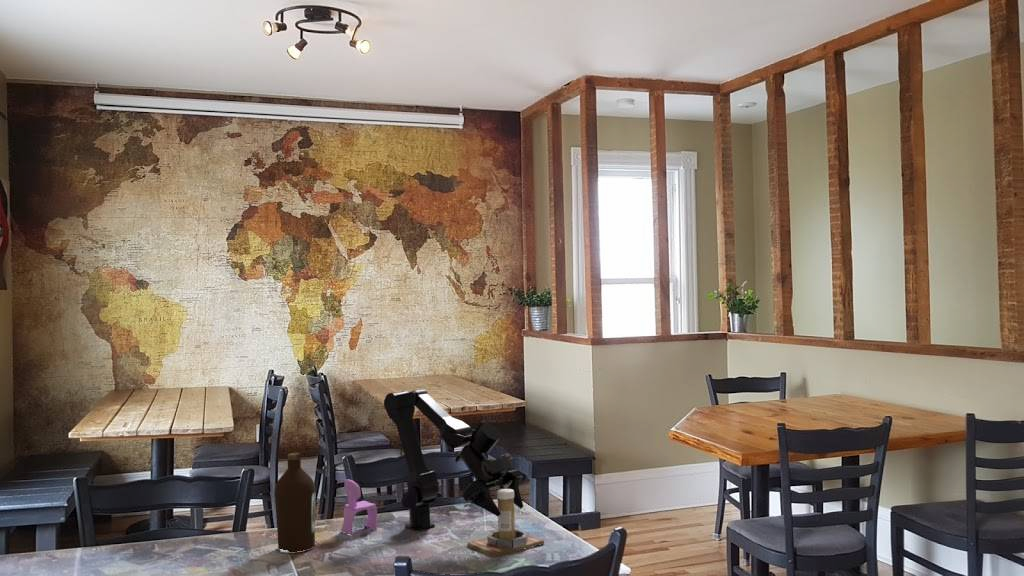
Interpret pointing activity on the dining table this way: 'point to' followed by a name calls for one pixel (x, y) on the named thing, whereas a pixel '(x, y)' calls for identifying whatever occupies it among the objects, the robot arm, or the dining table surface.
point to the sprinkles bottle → (506, 514)
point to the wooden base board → (492, 551)
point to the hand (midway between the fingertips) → (510, 511)
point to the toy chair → (357, 508)
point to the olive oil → (295, 507)
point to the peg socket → (507, 540)
